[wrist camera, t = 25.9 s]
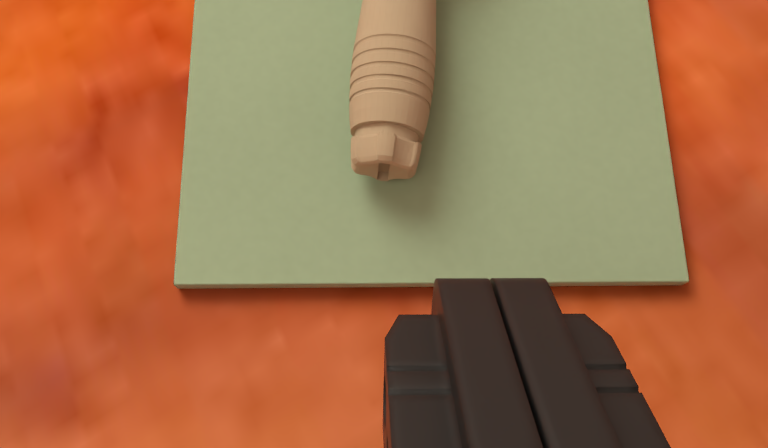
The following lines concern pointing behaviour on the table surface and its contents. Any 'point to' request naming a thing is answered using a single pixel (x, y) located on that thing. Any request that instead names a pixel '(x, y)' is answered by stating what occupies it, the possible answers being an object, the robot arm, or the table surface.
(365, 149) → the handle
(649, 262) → the mat
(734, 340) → the table surface
